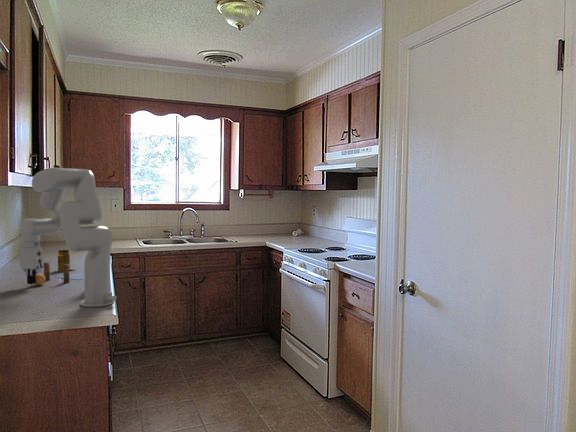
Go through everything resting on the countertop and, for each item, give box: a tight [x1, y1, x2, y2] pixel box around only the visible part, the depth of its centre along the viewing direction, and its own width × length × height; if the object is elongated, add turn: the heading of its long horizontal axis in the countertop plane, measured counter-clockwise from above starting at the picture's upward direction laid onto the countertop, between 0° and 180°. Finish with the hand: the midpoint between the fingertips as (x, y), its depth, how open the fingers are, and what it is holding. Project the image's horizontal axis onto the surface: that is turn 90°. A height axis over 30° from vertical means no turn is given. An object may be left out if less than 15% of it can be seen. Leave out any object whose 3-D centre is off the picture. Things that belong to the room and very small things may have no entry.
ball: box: [34, 273, 46, 286], centre depth 212 cm, size 6×6×6 cm
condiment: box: [57, 249, 74, 273], centre depth 251 cm, size 7×8×12 cm
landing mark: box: [56, 272, 85, 281], centre depth 234 cm, size 14×14×1 cm
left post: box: [43, 261, 51, 282], centre depth 223 cm, size 3×3×9 cm
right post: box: [62, 264, 70, 284], centre depth 219 cm, size 3×3×9 cm
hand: (31, 283), depth 208 cm, fingers closed
